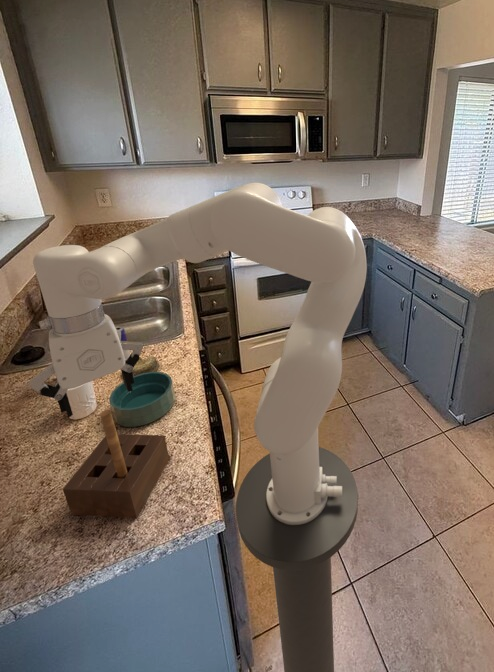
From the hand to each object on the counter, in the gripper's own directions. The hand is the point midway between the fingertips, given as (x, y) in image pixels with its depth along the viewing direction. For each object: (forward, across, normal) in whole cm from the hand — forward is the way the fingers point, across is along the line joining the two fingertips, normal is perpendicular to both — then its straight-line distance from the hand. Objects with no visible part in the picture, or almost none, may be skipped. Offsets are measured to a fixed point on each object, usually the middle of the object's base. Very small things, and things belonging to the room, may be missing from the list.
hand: (100, 399), depth 66 cm
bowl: (+25, +11, +25) cm, 37 cm away
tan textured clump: (+25, +15, +44) cm, 53 cm away
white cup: (+26, -2, +36) cm, 44 cm away
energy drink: (+26, +12, +54) cm, 61 cm away
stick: (+25, 0, 0) cm, 25 cm away
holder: (+25, 0, +4) cm, 25 cm away
